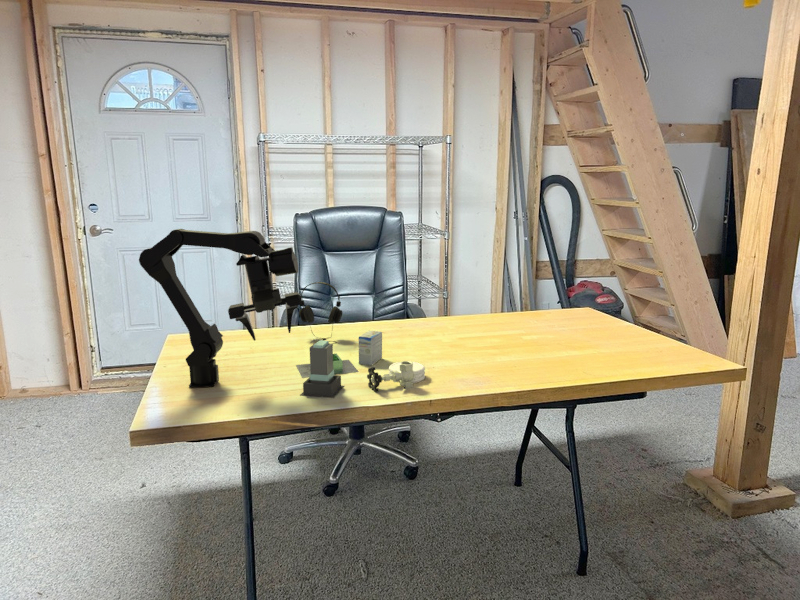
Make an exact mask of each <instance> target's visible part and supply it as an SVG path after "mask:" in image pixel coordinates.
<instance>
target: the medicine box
mask: <svg viewBox="0 0 800 600" xmlns="http://www.w3.org/2000/svg"><path fill="white" fill-rule="evenodd" d="M382 358H383V332H382V331H378V330H368V331H365V332H364V333H362V334H361V335H359V336H358V364H359V365H363V366H371V367H372V366H373V365H374V364H376V363H377V362H378V361H380V360H381V359H382Z"/></svg>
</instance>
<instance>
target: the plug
mask: <svg viewBox="0 0 800 600" xmlns="http://www.w3.org/2000/svg"><path fill="white" fill-rule="evenodd" d="M329 341H330V340H323V339H321V340H320V339H319V340H318V341H317V342H315V343H313V344H312V345H311V346H309V364H310V372H311V374H310V377H309V378H310V380H311V383H318V384H331V383H332V382H333V381H334V370H333V354H334V346H333V345H334V344H332V343H329Z"/></svg>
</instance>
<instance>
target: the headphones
mask: <svg viewBox="0 0 800 600" xmlns="http://www.w3.org/2000/svg"><path fill="white" fill-rule="evenodd" d="M315 284H321V285H326V286H328V287H330V288H332V289H333V291H334V292H335V293H336V296H337V301H336V304H335V306H333V307H332V309H331V310H330V313H329V315H328V320H327V321H328V323H329V324H334V323H335V324H338V323H339V322H341V319H342V316H343V314H344V313H343V312H344V311H343V310H341V309H340V307H341V305H342V304H341V303H342V302H341V301H340V299H341V294H339V292H338V291H337V290H336V288H335V286H333V285H332V284H330V283H328V282H324V281H322V282H321V281H317V282H311V283H309V284H307V285H306V286H304V288H303V289H302V291H301V294H300V296H301V301H302V304H301V305H299V306H302V308H301V309H299V312H298V314H299V318H300V321H302V322H303V323H306V322H308V324H309V326H310V328H312V327H311V326H312V325H310V323H313V322H314V321H315V314H314V311H313V309H312V307H311V306H310V305H307V304H306V305H305V300H303V293H304V292H305V290H306V289H307V287H308V286H311V285H315ZM331 326H332V328H331V330H333V329H334V325H331ZM311 333H312V335H313V336H314V337H315V338H317V339H318V337H317V336H315V334H314V333H313V331H312V329H311ZM332 336H333V333H331V335H330V337H332ZM327 339H328V337H326V338H324V337H322V338H321V340H324V341H326V340H327ZM328 341H329V342H331V340H328ZM332 342H333V343H331V344H333V345H334V344H337V343H338V342H337V341H335V340H334V341H333V340H332Z"/></svg>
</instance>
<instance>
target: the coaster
mask: <svg viewBox="0 0 800 600" xmlns="http://www.w3.org/2000/svg"><path fill="white" fill-rule="evenodd" d="M400 362H401V361H397V362H394V363H391V364H390V365H389V367H388V374H389V375H390V374H392V371H398V372H399V371H400ZM412 362H413V371H414V379H413V384H417V383H420V382H422V381H424V380H425V378H426V376H425V374H426V367H425V366H424V365H423V364H422V363H419V362H417V361H412ZM398 382H400V380H399V381H398Z"/></svg>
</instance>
